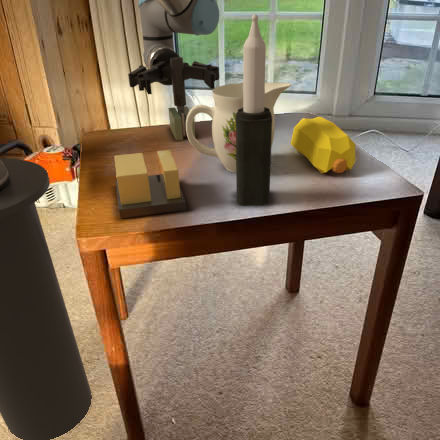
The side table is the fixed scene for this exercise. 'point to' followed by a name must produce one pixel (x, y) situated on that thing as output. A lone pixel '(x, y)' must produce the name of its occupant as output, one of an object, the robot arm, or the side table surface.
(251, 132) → the candle
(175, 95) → the knife
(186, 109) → the knife stand
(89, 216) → the side table surface
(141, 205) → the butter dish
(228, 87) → the pitcher
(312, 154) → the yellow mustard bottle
